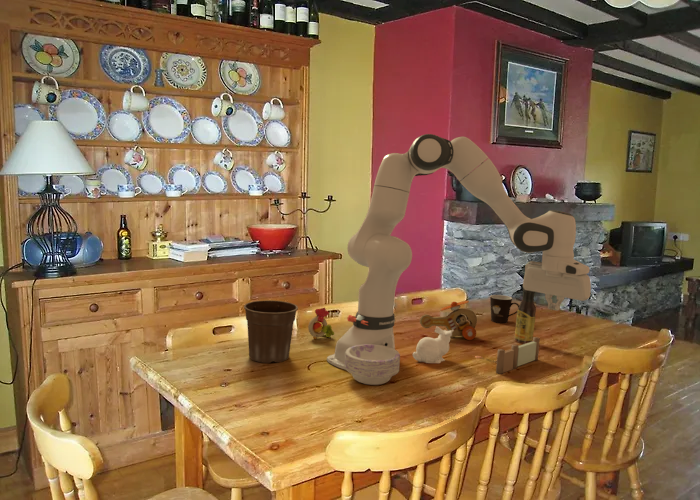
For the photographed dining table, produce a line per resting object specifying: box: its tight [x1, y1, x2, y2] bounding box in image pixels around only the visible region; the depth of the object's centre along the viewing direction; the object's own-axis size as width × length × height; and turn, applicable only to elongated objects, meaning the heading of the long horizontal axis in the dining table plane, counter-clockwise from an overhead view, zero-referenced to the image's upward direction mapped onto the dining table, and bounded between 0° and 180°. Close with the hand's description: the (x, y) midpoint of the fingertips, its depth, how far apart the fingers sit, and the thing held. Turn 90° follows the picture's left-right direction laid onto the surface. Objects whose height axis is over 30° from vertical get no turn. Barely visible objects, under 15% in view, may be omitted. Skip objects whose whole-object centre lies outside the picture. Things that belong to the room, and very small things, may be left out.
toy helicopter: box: [419, 300, 478, 341], centre depth 203 cm, size 8×21×14 cm, turn 97°
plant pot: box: [243, 299, 299, 364], centre depth 173 cm, size 16×16×16 cm
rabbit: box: [412, 326, 454, 364], centre depth 174 cm, size 12×9×12 cm
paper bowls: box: [344, 344, 401, 386], centre depth 158 cm, size 15×15×8 cm
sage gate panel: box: [517, 336, 541, 367], centre depth 176 cm, size 12×2×7 cm, turn 133°
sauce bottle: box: [514, 287, 537, 345], centre depth 199 cm, size 7×6×20 cm
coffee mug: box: [489, 294, 520, 324], centre depth 228 cm, size 12×9×10 cm
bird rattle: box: [307, 307, 335, 340], centre depth 196 cm, size 6×11×9 cm
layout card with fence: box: [474, 344, 520, 375], centre depth 177 cm, size 23×18×7 cm
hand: (553, 309), depth 172 cm, fingers closed
